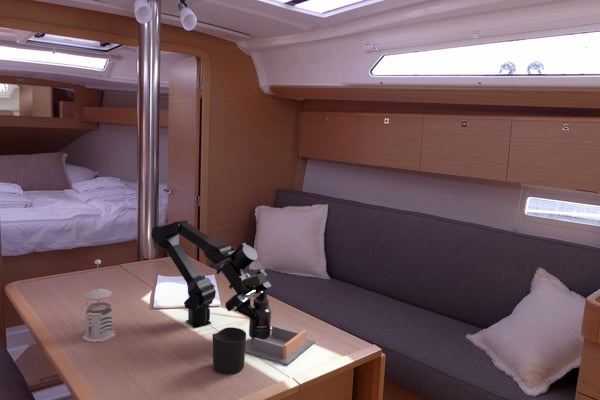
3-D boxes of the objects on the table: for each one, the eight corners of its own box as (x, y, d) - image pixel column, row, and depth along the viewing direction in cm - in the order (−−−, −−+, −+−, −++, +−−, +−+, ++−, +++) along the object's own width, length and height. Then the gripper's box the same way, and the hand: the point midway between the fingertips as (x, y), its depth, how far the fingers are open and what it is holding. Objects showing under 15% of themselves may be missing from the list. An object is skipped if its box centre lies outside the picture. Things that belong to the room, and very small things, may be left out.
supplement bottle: (259, 342, 148) (261, 305, 147) (244, 335, 153) (245, 300, 151) (274, 336, 154) (276, 300, 152) (259, 329, 158) (260, 294, 156)
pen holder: (247, 373, 133) (248, 340, 132) (213, 377, 130) (214, 343, 129) (242, 358, 142) (243, 326, 141) (210, 361, 139) (210, 328, 138)
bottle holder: (236, 350, 147) (237, 335, 146) (267, 329, 163) (268, 316, 162) (287, 365, 138) (288, 350, 138) (315, 342, 154) (315, 329, 154)
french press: (122, 332, 156) (121, 257, 152) (96, 347, 145) (94, 267, 141) (97, 326, 159) (96, 254, 155) (70, 341, 148) (68, 263, 144)
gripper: (234, 270, 143) (263, 313, 140) (267, 256, 160) (294, 295, 156) (212, 290, 148) (241, 332, 145) (247, 275, 165) (273, 312, 161)
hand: (264, 317), depth 152 cm, fingers closed on supplement bottle, 7 cm apart
